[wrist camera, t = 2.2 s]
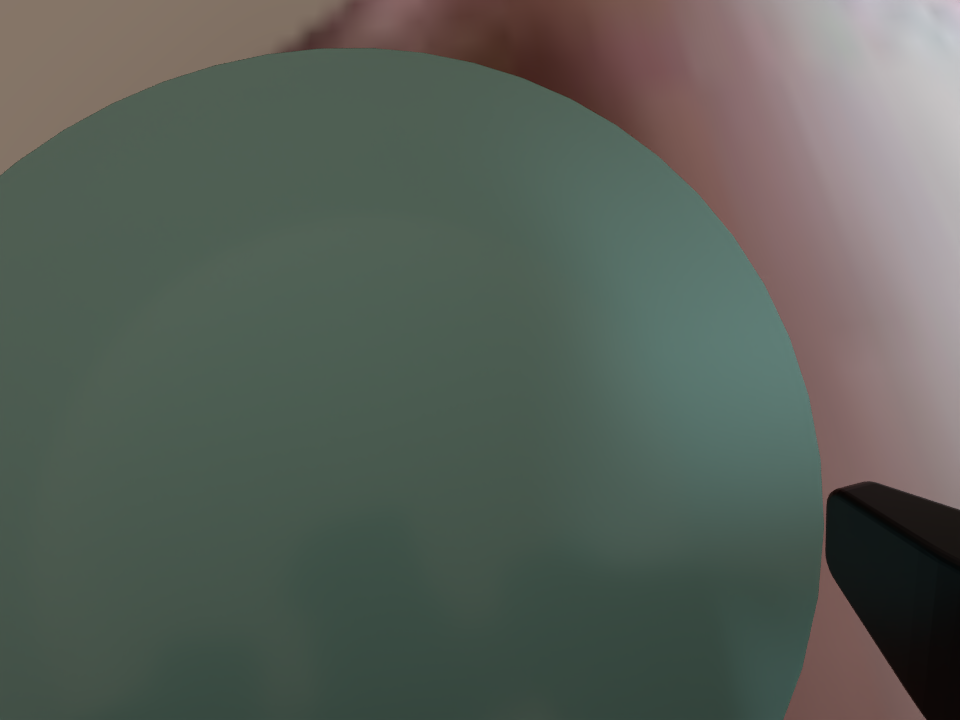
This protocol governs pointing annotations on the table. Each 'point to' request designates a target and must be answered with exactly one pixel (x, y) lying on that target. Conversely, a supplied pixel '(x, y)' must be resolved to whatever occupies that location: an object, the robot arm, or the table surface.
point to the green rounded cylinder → (389, 413)
